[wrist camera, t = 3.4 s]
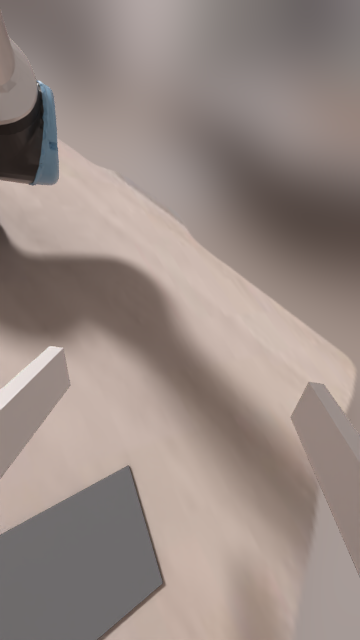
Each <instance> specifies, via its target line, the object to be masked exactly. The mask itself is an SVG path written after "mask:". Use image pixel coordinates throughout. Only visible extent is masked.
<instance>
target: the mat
mask: <svg viewBox="0 0 360 640" xmlns="http://www.w3.org/2000/svg"><path fill="white" fill-rule="evenodd" d="M162 583H163V582H162V578H161V575H160V572H159V568H158V565H157V561H156V558H155V554H154V551H153V547H152V544H151V540H150V537H149V534H148V530H147V527H146V523H145V520H144V516H143V513H142V509H141V506H140V503H139V499H138V496H137V492H136V489H135V485H134V482H133V478H132V475H131V472H130V468H129V465H128V466H126V467H125V468H123V469H121V470H119V471H117V472H115V473H114V474H112V475H110V476H108V477H106V478H104V479H102V480H101V481H99V482H97V483H95V484H93V485H91V486H90V487H88V488H86V489H84V490H82V491H80V492H79V493H77V494H75V495H73V496H71V497H69V498H67V499H66V500H64V501H62V502H60V503H58V504H56V505H55V506H53V507H51V508H49V509H47V510H45V511H43V512H42V513H40V514H38V515H36V516H34V517H32V518H31V519H29V520H27V521H25V522H23V523H21V524H20V525H18V526H16V527H14V528H12V529H10V530H8V531H7V532H5V533H3V534H1V535H0V640H97V639H98V638H99V637H101V636H102V635H103V634H104V633H105V632H106V631H108V630H109V629H110V628H111V627H112V626H113V625H115V624H116V623H117V622H118V621H119V620H120V619H122V618H123V617H124V616H125V615H126V614H127V613H129V612H130V611H131V610H132V609H133V608H134V607H136V606H137V605H138V604H139V603H140V602H141V601H143V600H144V599H145V598H146V597H147V596H148V595H150V594H151V593H152V592H153V591H154V590H155V589H157V588H158V587H159V586H160V585H161V584H162Z"/></svg>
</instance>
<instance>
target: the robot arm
mask: <svg viewBox="0 0 360 640" xmlns="http://www.w3.org/2000/svg"><path fill="white" fill-rule="evenodd" d="M58 179H59V160H58V147H57V127H56V115H55V105H54V96H53V93H52V90H51V89H50V88H49V87H48V86H46V85H44V84H43V83H42V82H41V81H38V80H36V78H35V75H34V72H33V69H32V66H31V64H30V63H29V61H28V59H27V57H26V56H25V55H24V53H23V52H22V51H21V49H20V48H19V47H18V46H17V45H16V44H15V43H14V42H13V41H12V40H11V39H10V38H9V36H8V33H7V30H6V27H5V23H4V20H3V16H2V13H1V10H0V180H4V181H11V182H18V183H25V184H29V185H36V184H39V185H54V184H55V183H56V182H57V181H58ZM69 387H70V380H69V375H68V370H67V364H66V359H65V354H64V349H63V348H61V347H53V346H49V347H48V348H47V349H46V350H45V351H43V352H42V353H41V354H40V355H39V356H38V357H37V358H36V359H34V360H33V361H32V362H31V363H30V364H29V365H28V366H26V367H25V368H24V369H23V370H22V371H21V372H20V373H19V374H17V375H16V376H15V377H14V378H13V379H12V380H11V381H10V382H8V383H7V384H6V385H5V386H4V387H3V388H2V389H1V390H0V479H1V477H2V476H3V475H4V473H5V472H6V471H7V469H8V468H9V467H10V465H11V464H12V463H13V461H14V460H15V459H16V457H17V456H18V455H19V453H20V452H21V451H22V449H23V448H24V447H25V445H26V444H27V443H28V441H29V440H30V439H31V437H32V436H33V435H34V433H35V432H36V431H37V429H38V428H39V427H40V425H41V424H42V423H43V421H44V420H45V419H46V417H47V416H48V415H49V413H50V412H51V411H52V409H53V408H54V407H55V405H56V404H57V403H58V401H59V400H60V399H61V397H62V396H63V395H64V393H65V392H66V391H67V389H68V388H69ZM291 420H292V422H293V424H294V427H295V429H296V431H297V433H298V436H299V438H300V440H301V443H302V445H303V447H304V450H305V452H306V454H307V457H308V459H309V461H310V463H311V466H312V468H313V470H314V473H315V475H316V477H317V480H318V482H319V484H320V487H321V489H322V491H323V493H324V496H325V498H326V500H327V503H328V505H329V507H330V510H331V512H332V514H333V517H334V519H335V521H336V523H337V526H338V528H339V530H340V533H341V535H342V537H343V540H344V542H345V544H346V546H347V549H348V551H349V554H350V556H351V558H352V560H353V563H354V564H355V567H356V569H357V572H358V574H359V576H360V435H359V433H358V432H357V431H356V429H355V428H354V426H353V425H352V423H351V422H350V421H349V419H348V418H347V416H346V415H345V413H344V412H343V411H342V409H341V408H340V406H339V405H338V404H337V402H336V401H335V399H334V398H333V397H332V395H331V394H330V392H329V391H328V389H327V388H326V387H325V385H324V384H320V383H312V382H309V383H308V384H307V386H306V388H305V390H304V392H303V394H302V396H301V398H300V400H299V402H298V404H297V406H296V408H295V409H294V411H293V413H292V415H291Z"/></svg>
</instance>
